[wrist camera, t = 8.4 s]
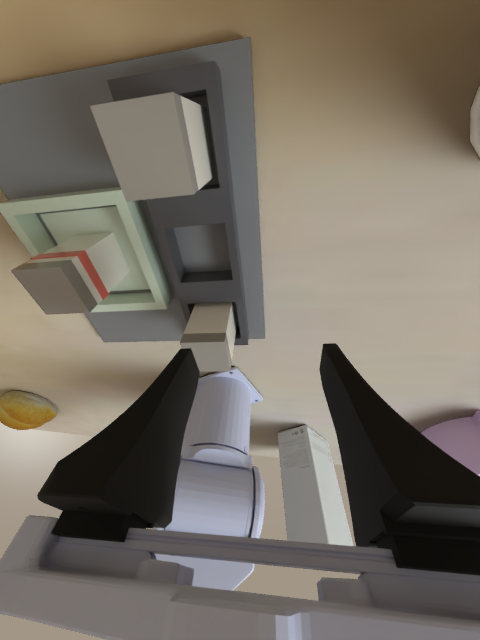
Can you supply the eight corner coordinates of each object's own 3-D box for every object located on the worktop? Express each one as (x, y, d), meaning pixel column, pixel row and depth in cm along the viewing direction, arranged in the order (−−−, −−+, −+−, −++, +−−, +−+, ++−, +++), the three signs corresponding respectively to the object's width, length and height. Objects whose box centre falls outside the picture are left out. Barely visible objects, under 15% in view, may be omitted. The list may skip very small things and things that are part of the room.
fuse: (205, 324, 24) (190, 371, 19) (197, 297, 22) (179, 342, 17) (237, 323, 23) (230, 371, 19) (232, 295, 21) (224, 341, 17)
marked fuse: (95, 273, 21) (46, 315, 16) (74, 235, 19) (9, 269, 14) (131, 271, 20) (90, 313, 16) (113, 231, 18) (60, 266, 13)
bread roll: (67, 406, 40) (50, 429, 37) (44, 418, 44) (28, 439, 41) (17, 382, 36) (-6, 405, 33) (-3, 397, 40) (-25, 419, 37)
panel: (107, 337, 28) (95, 353, 26) (-48, 97, 14) (-98, 91, 12) (265, 333, 25) (265, 350, 23) (250, 42, 12) (248, 23, 10)
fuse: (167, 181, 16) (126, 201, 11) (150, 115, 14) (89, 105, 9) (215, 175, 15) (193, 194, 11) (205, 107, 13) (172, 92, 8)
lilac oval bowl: (434, 468, 45) (457, 513, 39) (376, 457, 43) (392, 502, 38) (544, 421, 32) (600, 478, 27) (466, 404, 31) (509, 460, 25)
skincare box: (276, 431, 39) (282, 553, 28) (308, 422, 37) (328, 553, 25) (301, 449, 43) (315, 562, 32) (331, 442, 41) (359, 564, 29)
